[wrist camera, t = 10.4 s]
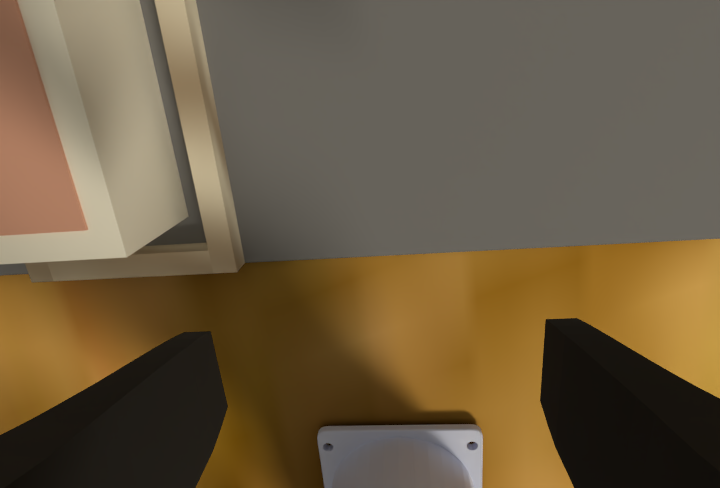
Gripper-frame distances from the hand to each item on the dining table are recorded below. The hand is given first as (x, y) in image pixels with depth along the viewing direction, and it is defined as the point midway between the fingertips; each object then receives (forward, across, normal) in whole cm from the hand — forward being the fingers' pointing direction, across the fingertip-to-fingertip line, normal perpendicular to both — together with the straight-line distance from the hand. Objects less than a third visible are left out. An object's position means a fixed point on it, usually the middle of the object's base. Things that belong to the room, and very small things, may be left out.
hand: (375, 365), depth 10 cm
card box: (+9, +10, -6) cm, 15 cm away
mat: (+9, +2, -6) cm, 11 cm away
